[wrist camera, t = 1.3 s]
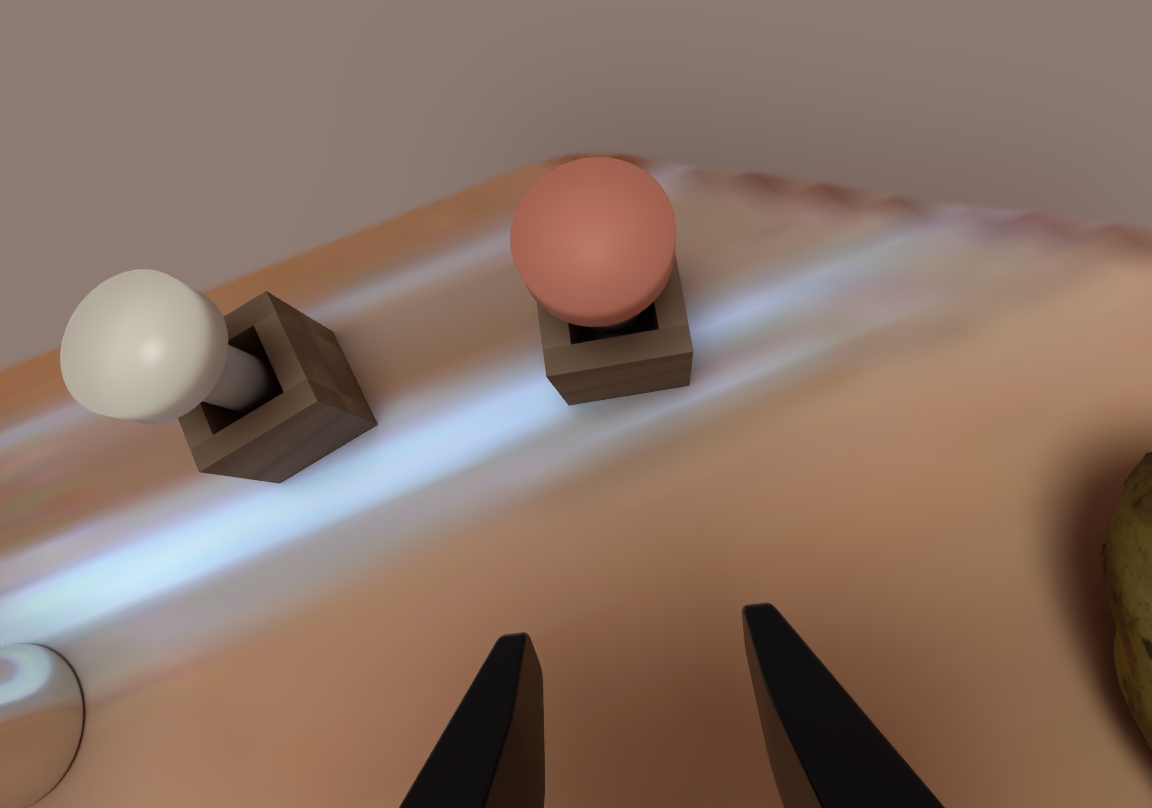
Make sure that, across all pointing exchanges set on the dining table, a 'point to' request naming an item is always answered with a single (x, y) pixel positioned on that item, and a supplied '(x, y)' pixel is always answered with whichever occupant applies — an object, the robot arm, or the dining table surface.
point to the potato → (1132, 591)
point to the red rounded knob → (595, 242)
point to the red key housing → (620, 353)
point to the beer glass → (36, 722)
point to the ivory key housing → (281, 399)
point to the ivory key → (157, 352)
